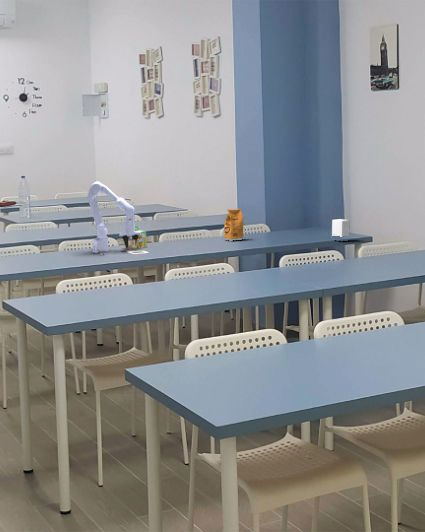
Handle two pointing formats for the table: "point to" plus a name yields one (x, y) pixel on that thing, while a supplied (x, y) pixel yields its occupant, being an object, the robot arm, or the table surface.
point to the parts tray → (137, 251)
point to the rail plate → (129, 250)
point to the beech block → (131, 244)
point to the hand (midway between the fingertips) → (130, 247)
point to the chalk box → (140, 239)
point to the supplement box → (340, 227)
